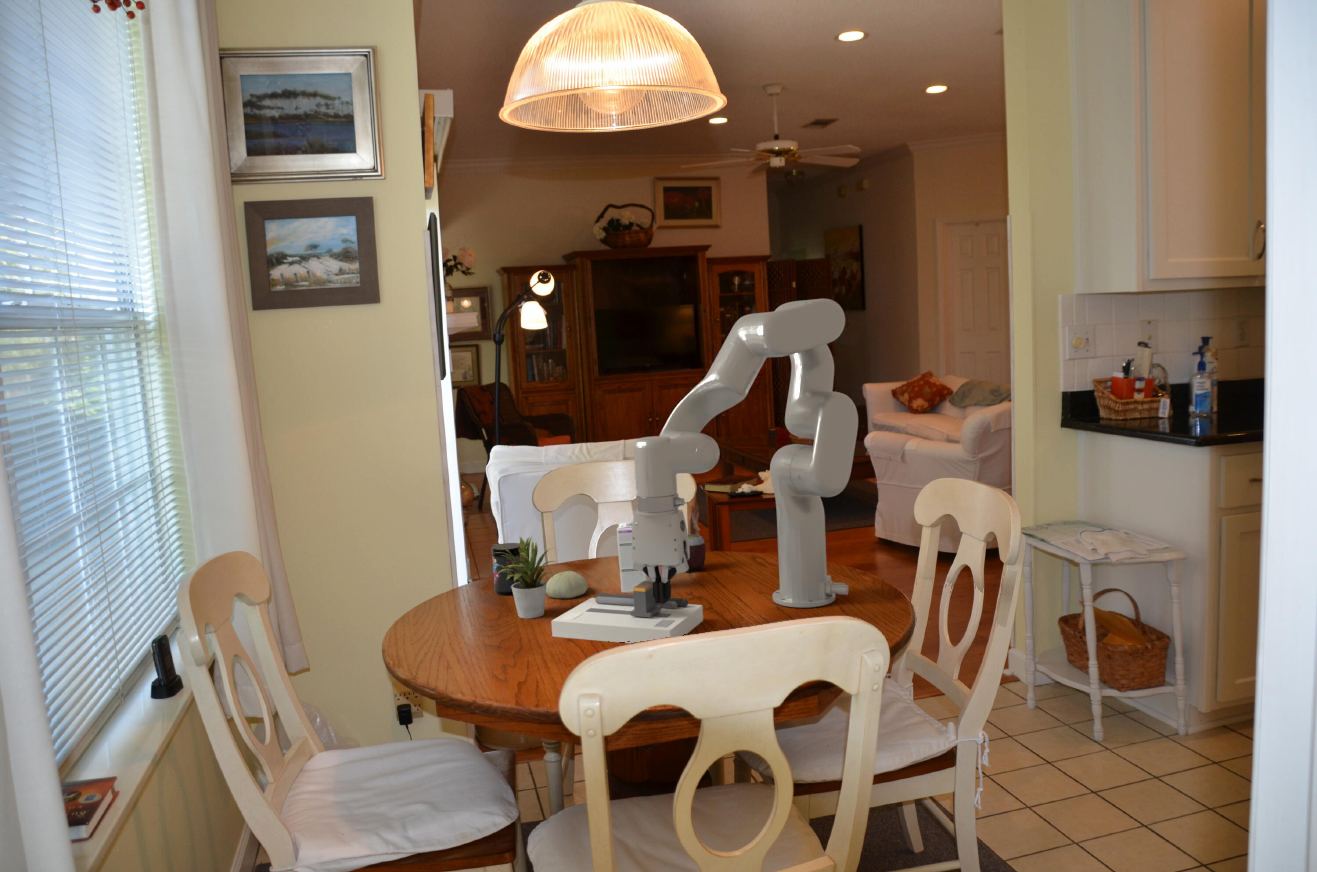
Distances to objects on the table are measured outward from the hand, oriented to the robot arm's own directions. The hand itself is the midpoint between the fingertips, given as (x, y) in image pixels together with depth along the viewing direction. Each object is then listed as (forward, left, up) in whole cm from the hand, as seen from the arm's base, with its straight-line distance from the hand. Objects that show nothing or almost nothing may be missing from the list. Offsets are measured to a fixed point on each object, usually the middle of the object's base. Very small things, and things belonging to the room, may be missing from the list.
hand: (662, 601), depth 172 cm
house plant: (+32, -4, -6) cm, 33 cm away
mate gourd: (+12, -44, -6) cm, 46 cm away
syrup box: (+18, -26, -6) cm, 32 cm away
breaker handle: (+3, 0, -2) cm, 4 cm away
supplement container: (+45, -18, -6) cm, 49 cm away
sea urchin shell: (+31, -19, -6) cm, 37 cm away
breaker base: (+7, 0, -6) cm, 9 cm away
